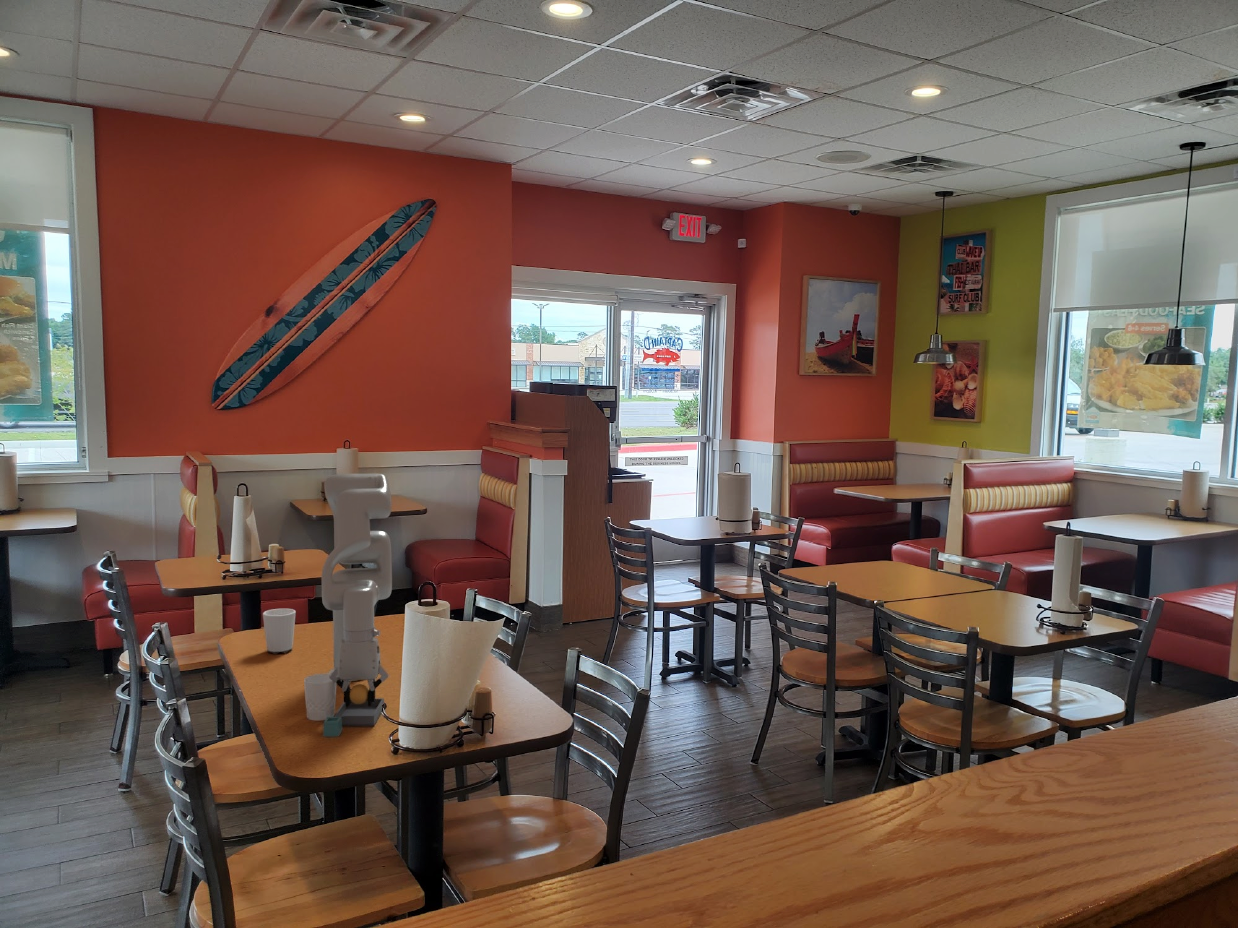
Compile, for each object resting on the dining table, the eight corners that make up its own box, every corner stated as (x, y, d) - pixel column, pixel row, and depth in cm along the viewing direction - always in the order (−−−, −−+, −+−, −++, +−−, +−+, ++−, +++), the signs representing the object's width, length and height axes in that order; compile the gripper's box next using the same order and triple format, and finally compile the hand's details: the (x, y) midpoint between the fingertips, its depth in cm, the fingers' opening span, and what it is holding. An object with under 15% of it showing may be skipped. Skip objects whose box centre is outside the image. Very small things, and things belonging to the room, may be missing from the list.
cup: (284, 644, 289) (284, 606, 288) (302, 650, 283) (302, 611, 282) (256, 651, 281) (256, 612, 280) (274, 657, 275) (274, 617, 274)
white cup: (326, 723, 222) (326, 684, 221) (298, 720, 223) (297, 681, 222) (342, 712, 229) (342, 674, 228) (315, 709, 231) (314, 672, 230)
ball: (351, 700, 228) (351, 681, 227) (371, 700, 228) (371, 681, 228) (347, 707, 223) (347, 687, 222) (367, 706, 223) (367, 687, 223)
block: (327, 730, 216) (327, 716, 216) (342, 730, 217) (342, 716, 216) (323, 736, 213) (323, 722, 212) (338, 736, 213) (338, 721, 213)
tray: (345, 708, 232) (345, 698, 232) (384, 707, 233) (384, 698, 233) (333, 726, 219) (333, 716, 219) (374, 726, 220) (374, 716, 220)
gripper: (395, 630, 228) (395, 699, 230) (328, 631, 227) (329, 700, 229) (390, 638, 221) (390, 709, 222) (320, 639, 220) (321, 710, 221)
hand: (359, 703), depth 225 cm, fingers closed on ball, 4 cm apart
